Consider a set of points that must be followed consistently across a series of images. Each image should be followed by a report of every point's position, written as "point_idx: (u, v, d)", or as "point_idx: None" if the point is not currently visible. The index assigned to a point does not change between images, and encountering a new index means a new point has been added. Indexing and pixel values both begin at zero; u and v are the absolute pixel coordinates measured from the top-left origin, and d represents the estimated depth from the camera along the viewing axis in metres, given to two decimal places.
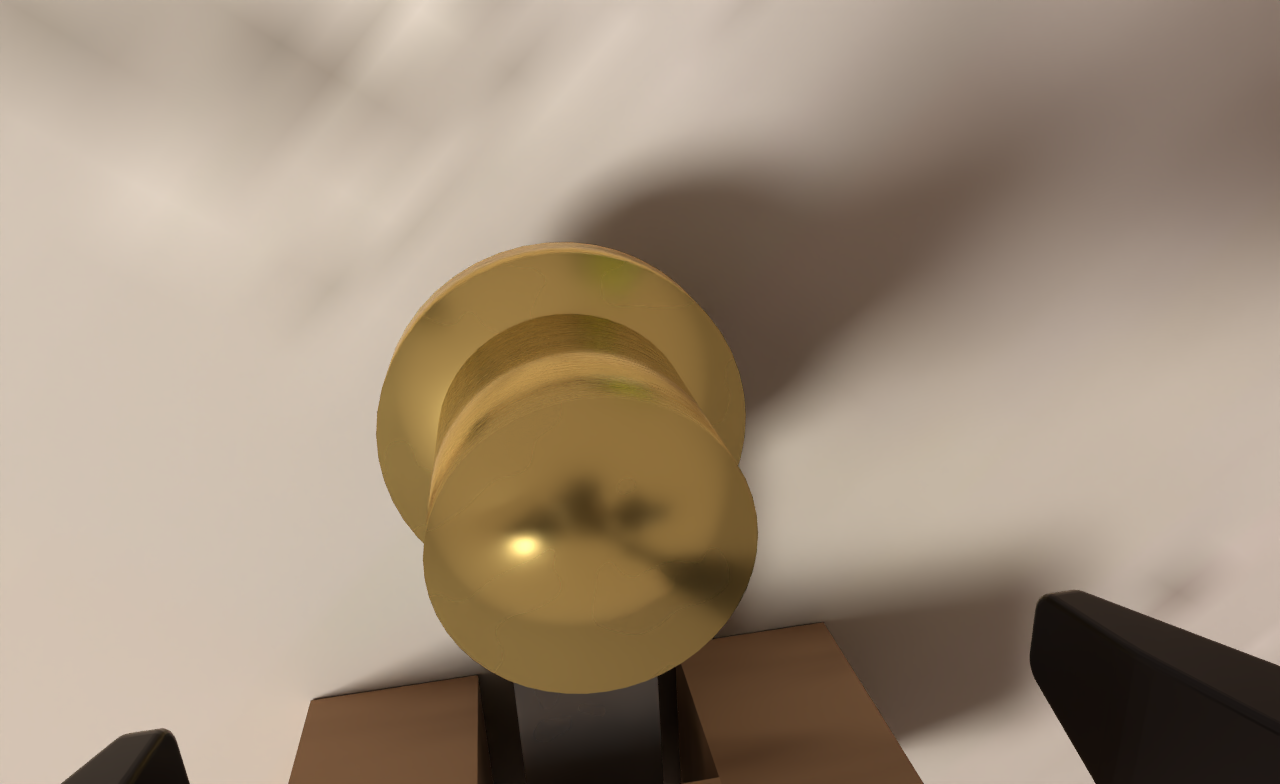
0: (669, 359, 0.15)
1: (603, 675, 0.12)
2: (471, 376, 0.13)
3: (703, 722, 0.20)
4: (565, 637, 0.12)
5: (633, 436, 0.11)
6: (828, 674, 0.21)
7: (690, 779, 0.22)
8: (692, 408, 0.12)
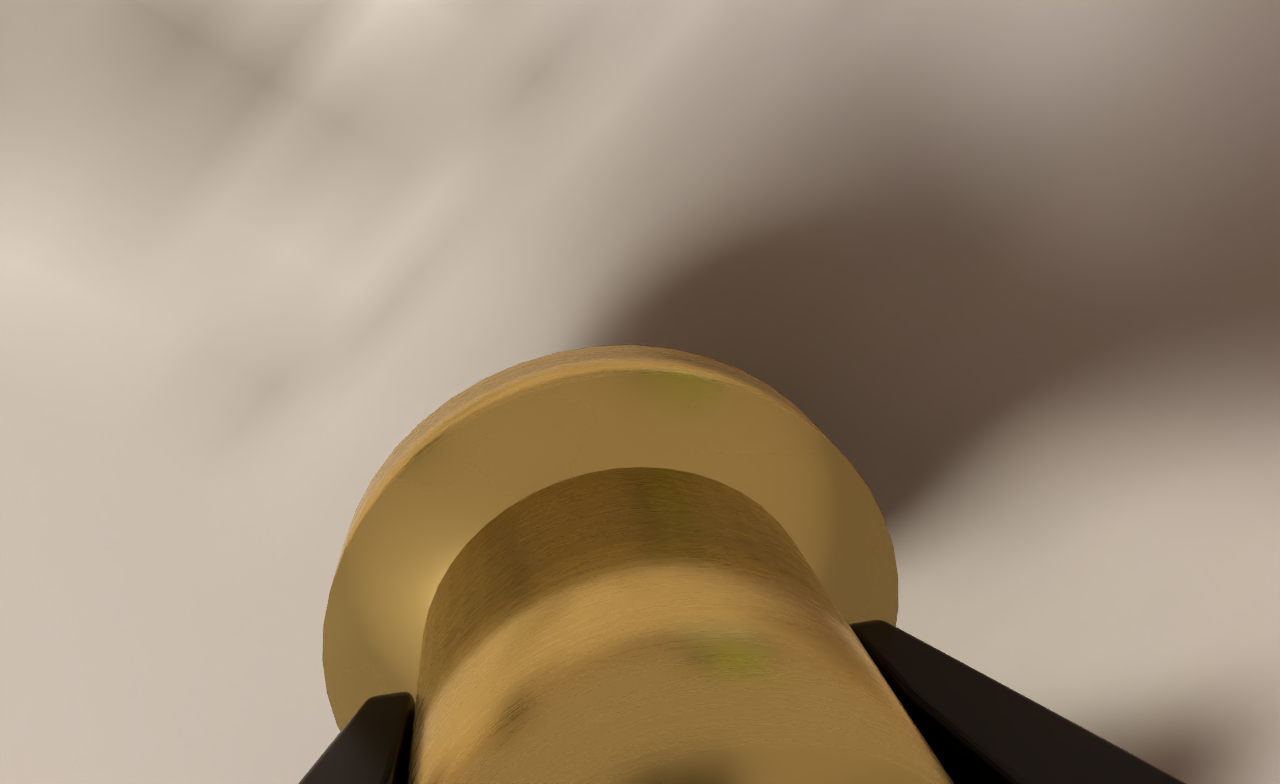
0: (788, 531, 0.09)
1: None
2: (474, 593, 0.08)
3: None
4: None
5: None
6: None
7: None
8: (886, 702, 0.06)
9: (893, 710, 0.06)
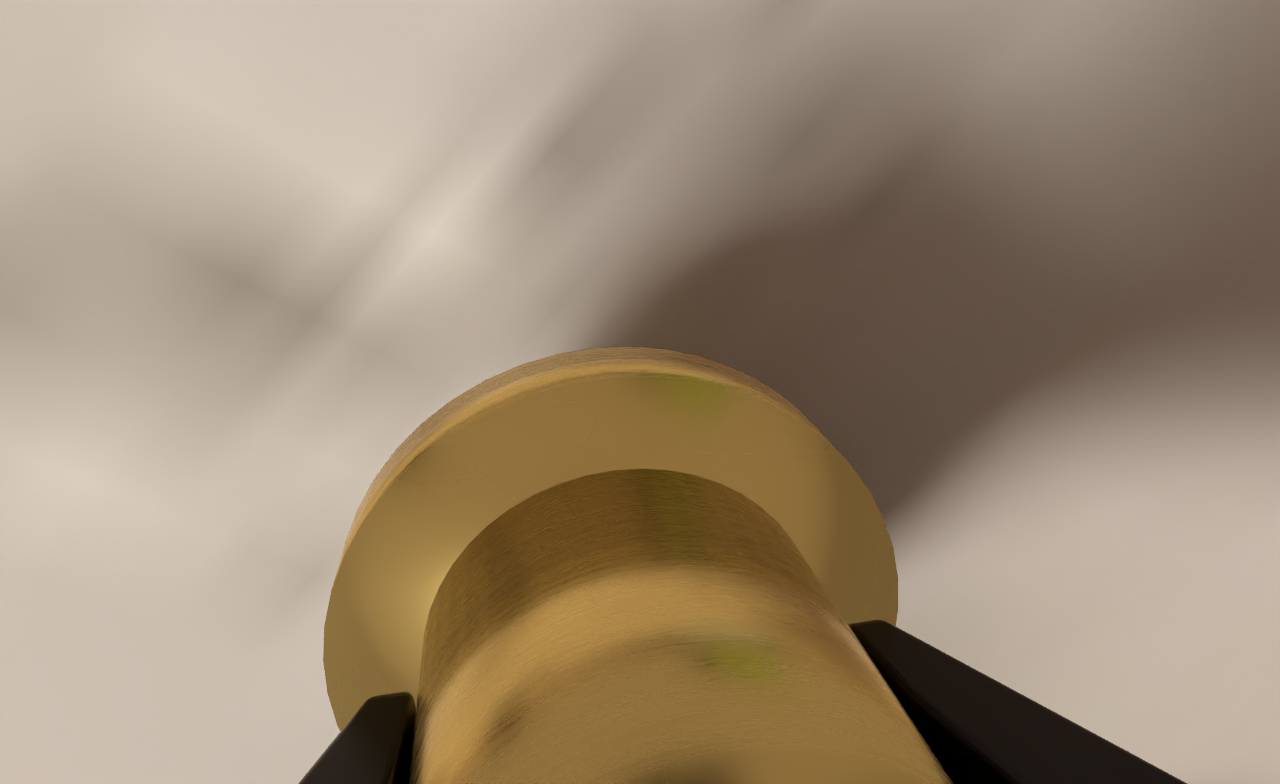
0: (788, 532, 0.09)
1: None
2: (477, 595, 0.08)
3: None
4: None
5: None
6: None
7: None
8: (887, 705, 0.06)
9: (894, 712, 0.06)
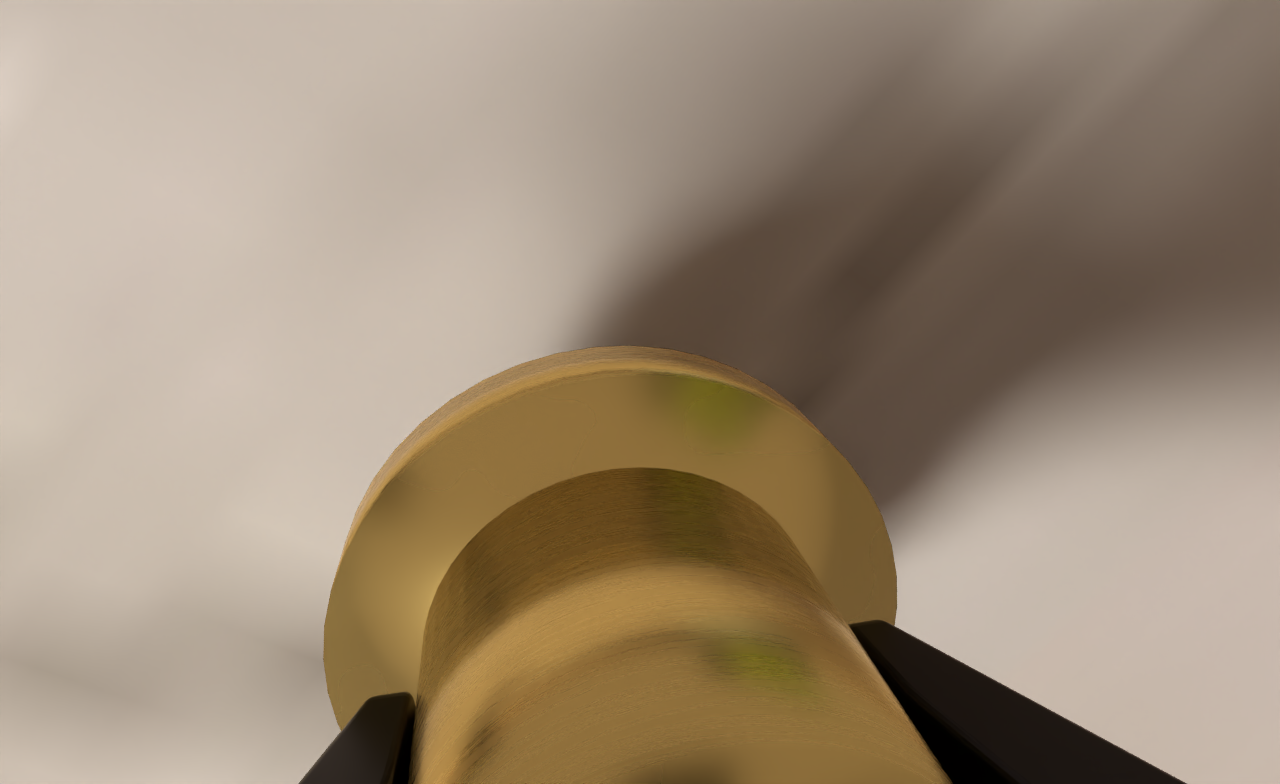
0: (787, 530, 0.09)
1: None
2: (476, 592, 0.08)
3: None
4: None
5: None
6: None
7: None
8: (884, 701, 0.06)
9: (891, 709, 0.06)
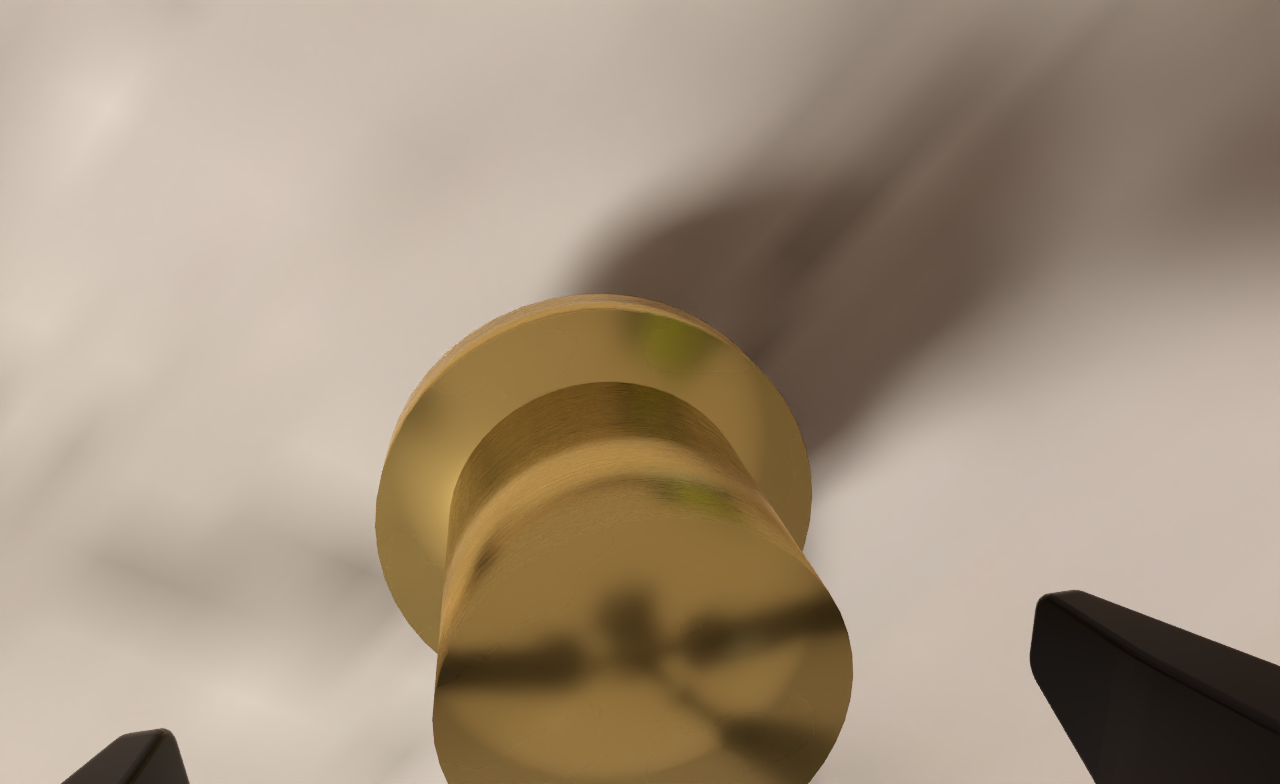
0: (724, 433, 0.12)
1: None
2: (490, 463, 0.11)
3: None
4: None
5: (702, 564, 0.08)
6: None
7: None
8: (769, 517, 0.09)
9: (773, 521, 0.09)
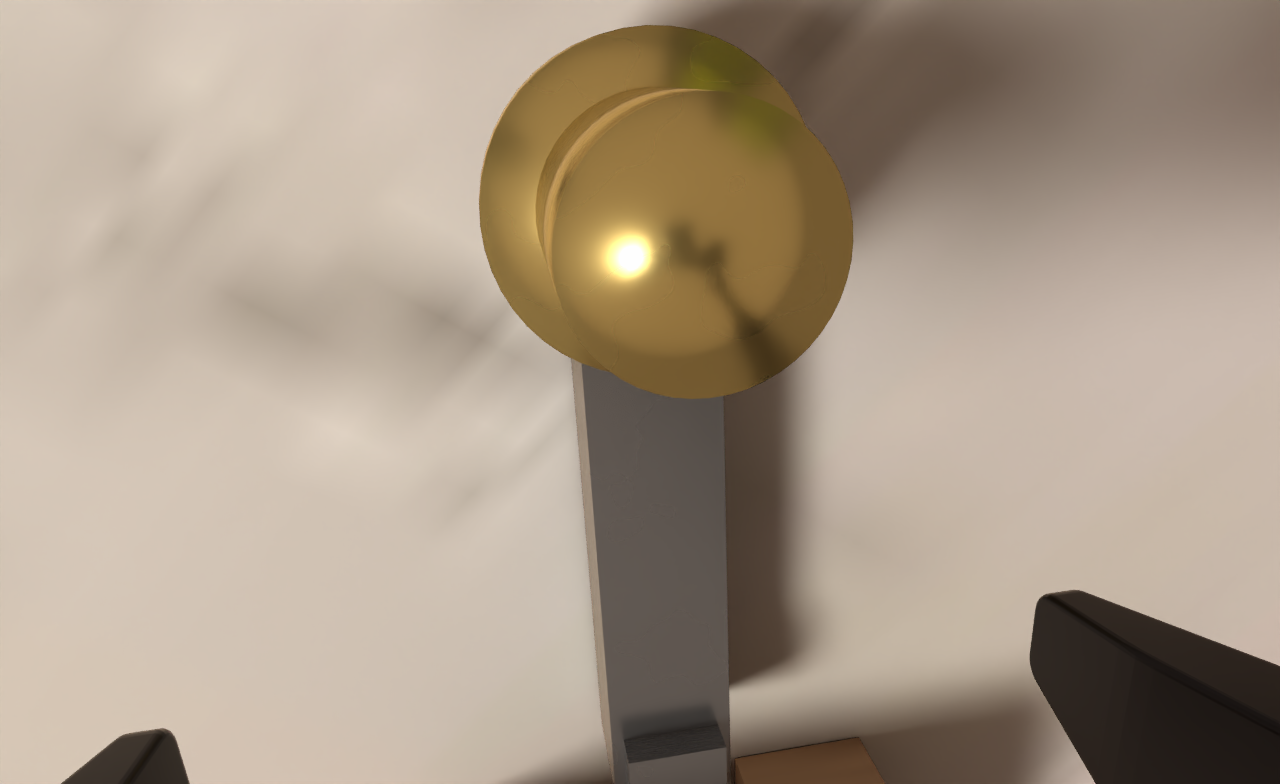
0: None
1: (707, 380, 0.13)
2: (576, 128, 0.14)
3: None
4: (675, 338, 0.13)
5: (746, 132, 0.12)
6: None
7: None
8: None
9: None
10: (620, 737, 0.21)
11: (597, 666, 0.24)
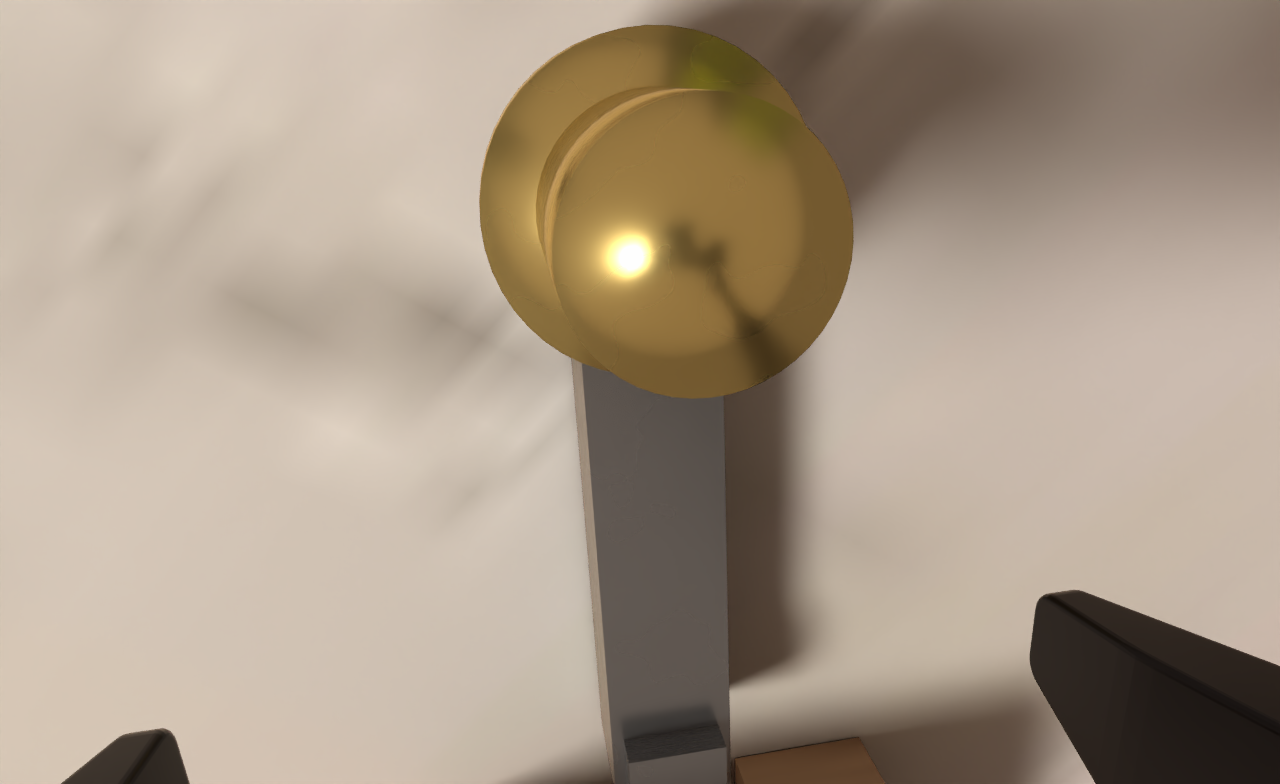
0: None
1: (707, 380, 0.13)
2: (576, 127, 0.14)
3: None
4: (675, 337, 0.13)
5: (746, 132, 0.12)
6: None
7: None
8: None
9: None
10: (620, 737, 0.21)
11: (597, 666, 0.24)
